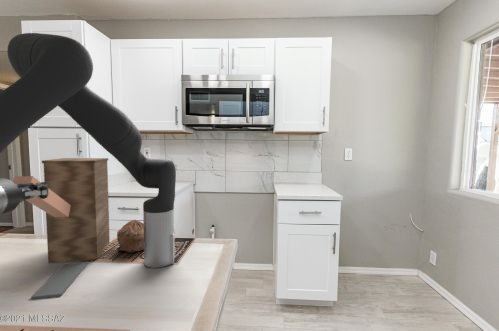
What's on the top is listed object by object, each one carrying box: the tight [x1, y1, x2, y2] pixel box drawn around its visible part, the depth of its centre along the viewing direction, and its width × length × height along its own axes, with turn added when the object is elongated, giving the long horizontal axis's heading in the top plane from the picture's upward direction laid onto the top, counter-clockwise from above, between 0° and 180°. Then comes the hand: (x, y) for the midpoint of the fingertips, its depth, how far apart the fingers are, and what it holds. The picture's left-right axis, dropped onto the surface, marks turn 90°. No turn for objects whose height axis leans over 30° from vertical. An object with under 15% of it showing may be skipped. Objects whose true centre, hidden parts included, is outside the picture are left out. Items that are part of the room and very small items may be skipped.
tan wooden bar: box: [12, 175, 71, 217], centre depth 67 cm, size 4×22×4 cm
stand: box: [41, 157, 111, 264], centre depth 89 cm, size 15×15×32 cm
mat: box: [30, 261, 89, 300], centre depth 73 cm, size 6×18×1 cm, turn 13°
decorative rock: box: [116, 219, 144, 254], centre depth 94 cm, size 13×11×10 cm
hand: (35, 186), depth 63 cm, fingers closed on tan wooden bar, 3 cm apart
